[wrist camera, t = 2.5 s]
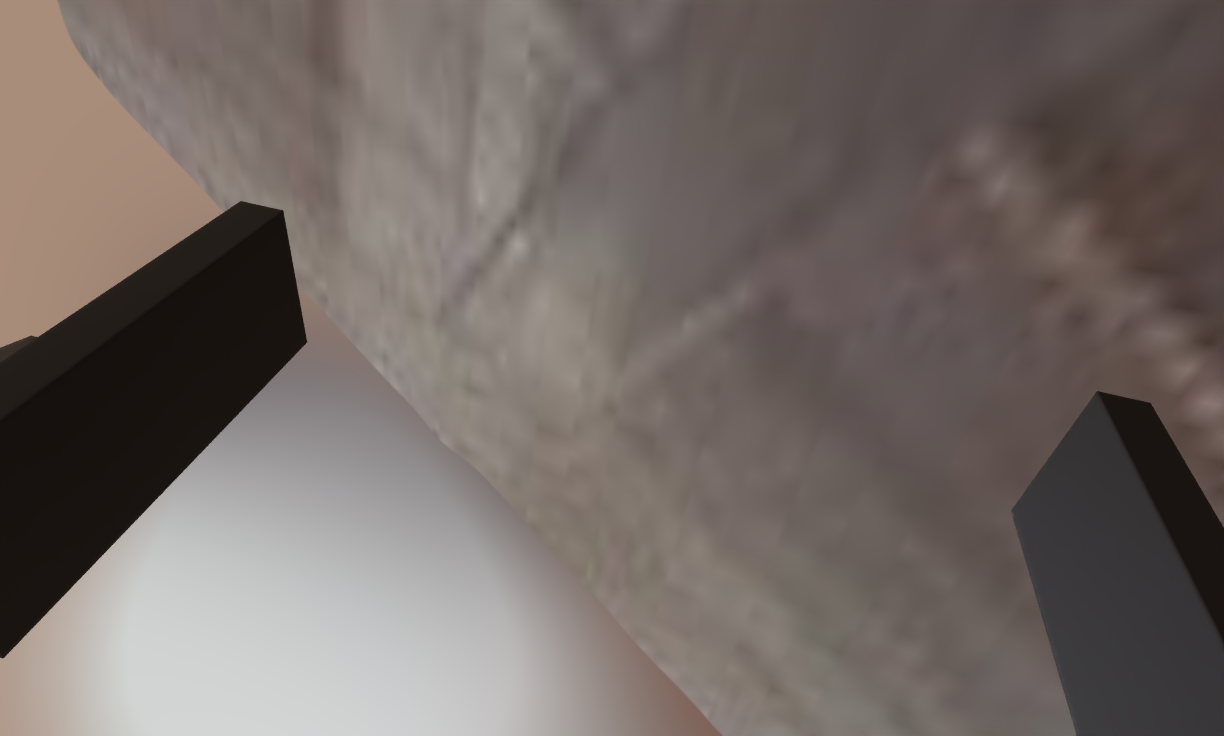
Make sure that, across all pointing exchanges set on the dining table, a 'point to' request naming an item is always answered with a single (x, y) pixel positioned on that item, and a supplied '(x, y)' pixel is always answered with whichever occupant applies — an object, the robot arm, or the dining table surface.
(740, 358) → the dining table surface
